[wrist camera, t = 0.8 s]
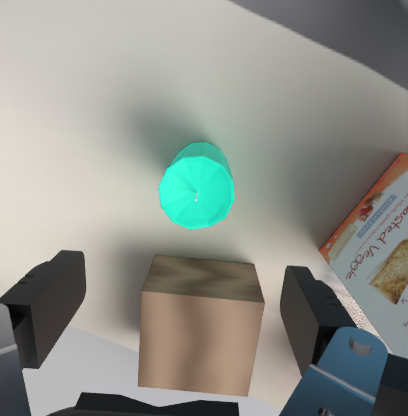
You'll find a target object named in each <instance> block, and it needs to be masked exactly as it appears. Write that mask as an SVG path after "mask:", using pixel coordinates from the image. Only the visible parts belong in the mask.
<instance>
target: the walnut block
mask: <svg viewBox="0 0 408 416" xmlns="http://www.w3.org/2000/svg"><path fill="white" fill-rule="evenodd" d="M264 305H265V302H264V298H263V295H262V291H261V287H260V284H259V280H258V276H257V273H256V269H255V266H254V264H246V263H236V262H225V261H215V260H205V259H195V258H184V257H174V256H164V255H155V257H154V260H153V263H152V265H151V268H150V271H149V273H148V276H147V278H146V281H145V284H144V286H143V289H142V295H141V320H140V345H139V372H138V386H139V387H150V388H160V389H171V390H182V391H192V392H203V393H215V394H224V395H235V396H246V397H247V396H248V391H249V386H250V381H251V375H252V370H253V364H254V359H255V353H256V348H257V343H258V337H259V332H260V326H261V321H262V316H263V310H264Z"/></svg>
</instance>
